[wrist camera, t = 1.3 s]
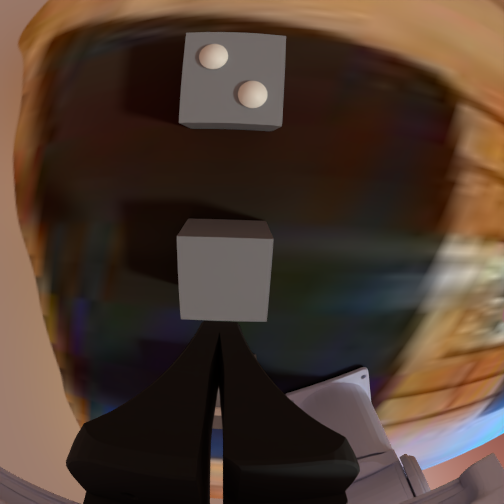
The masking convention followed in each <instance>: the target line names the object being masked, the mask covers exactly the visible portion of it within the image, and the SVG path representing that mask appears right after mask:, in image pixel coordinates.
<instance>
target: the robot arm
mask: <svg viewBox="0 0 504 504" xmlns="http://www.w3.org/2000/svg"><path fill="white" fill-rule="evenodd" d="M218 387H219V394H220V406H221V418H222V429H223V504H504V469H503V467H502V466H501V464H500V463H499V461H498V459H497V457H496V456H495V454H494V453H492V454H490V455H488V456H486V457H485V458H483V459H481V460H480V461H478V462H476V463H474V464H473V465H471V466H470V467H469V468H468V469H466V470H465V471H464V472H463V473H462V474H461V475H460V477H459V478H457V479H455V480H453V481H451V482H449V483H447V484H445V485H443V486H440V487H438V488H436V489H434V490H430V488H429V486H428V483H427V481H426V479H425V477H424V474H423V473H422V470H421V468H420V466H419V464H418V462H417V460H416V459H415V457H414V456H410V455H409V456H408V455H407V454H404V455H402V456H401V457H400V459H401V462H402V464H403V466H404V467H402V465H401V463H400V461H399V459H398V457H397V455H396V453H395V452H394V450H393V448H392V446H391V444H390V442H389V440H388V437H387V435H386V433H385V431H384V429H383V427H382V425H381V422H380V420H379V418H378V416H377V414H376V412H375V410H374V408H373V405H372V403H371V396H370V385H369V375H368V370H367V368H366V367H361V368H359V369H356V370H354V371H351V372H348V373H346V374H343V375H340V376H338V377H335V378H332V379H329V380H326V381H323V382H321V383H318V384H315V385H311V386H308V387H305V388H302V389H299V390H296V391H292V392H289V393H286V394H284V393H283V392H282V391H281V390H280V389H279V388H278V387H277V386H276V385H275V383H274V382H273V381H272V380H271V379H270V378H269V376H268V375H267V374H266V372H265V371H264V370H263V368H262V367H261V365H260V364H259V363H258V361H257V360H256V358H255V356H254V355H253V353H252V351H251V350H250V348H249V346H248V344H247V342H246V340H245V338H244V336H243V333H242V331H241V328H240V325H239V324H238V323H236V322H215V321H204V322H202V323H201V325H200V327H199V329H198V331H197V332H196V334H195V336H194V337H193V339H192V340H191V342H190V343H189V344H188V346H187V347H186V348H185V350H184V351H183V352H182V354H181V355H180V356H179V357H178V358H177V359H176V361H175V362H174V363H173V364H172V365H171V366H170V367H169V368H168V369H167V370H166V371H165V372H164V373H163V374H162V375H161V376H160V377H159V378H158V379H157V380H156V381H155V382H154V383H152V384H151V385H150V386H149V387H147V388H146V389H145V390H144V391H142V392H141V393H140V394H138V395H137V396H136V397H134V398H133V399H131V400H129V401H128V402H126V403H125V404H123V405H121V406H120V407H118V408H116V409H115V410H113V411H111V412H109V413H107V414H105V415H102V416H100V417H98V418H96V419H93V420H91V421H89V422H86V423H84V424H83V426H82V428H81V430H80V431H79V433H78V434H77V436H76V438H75V440H74V442H73V445H72V447H71V450H70V453H69V455H68V457H67V460H66V466H67V468H68V469H69V471H70V473H71V474H72V475H73V477H74V478H75V479H76V480H77V481H78V483H79V484H80V485H81V486H82V487H83V488H84V489H85V490H86V495H85V499H84V502H83V504H210V456H211V435H212V427H213V420H214V414H215V407H216V400H217V394H218ZM403 468H404V470H403ZM404 471H405V472H404ZM405 473H406V474H405ZM406 475H407V476H406ZM0 504H79V503H77V502H74V501H71V500H69V499H66V498H63V497H61V496H58V495H56V494H54V493H51V492H49V491H47V490H44V489H42V488H40V487H38V486H35V485H33V484H31V483H29V482H27V481H25V480H23V479H21V478H19V477H17V476H16V475H14V474H12V473H10V472H8V471H6V470H5V469H3V468H1V467H0Z"/></svg>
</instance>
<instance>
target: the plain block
mask: <svg viewBox="0 0 504 504" xmlns="http://www.w3.org/2000/svg"><path fill="white" fill-rule="evenodd" d="M273 240H274V239H273V237H272V234H271V232H270V230H269V227H268V225H267V222H266V221H255V220H227V219H188V220H187V221H186V223H185V224H184V226H183V227H182V229H181V230H180V232H179V233H178V235H177V260H178V282H179V299H180V313H181V319H191V320H215V321H259V322H267V312H268V301H269V289H270V277H271V265H272V253H273Z"/></svg>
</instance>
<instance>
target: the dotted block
mask: <svg viewBox="0 0 504 504" xmlns="http://www.w3.org/2000/svg"><path fill="white" fill-rule="evenodd" d="M285 51H286V36H279V35H269V34H256V33H236V32H197V33H186V41H185V50H184V59H183V70H182V82H181V95H180V110H179V123H180V124H182V125H184V126H186V127H189V128H191V129H241V130H260V131H273V130H275V129H277V128H279V127H281V126H282V115H283V96H284V75H285Z"/></svg>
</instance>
